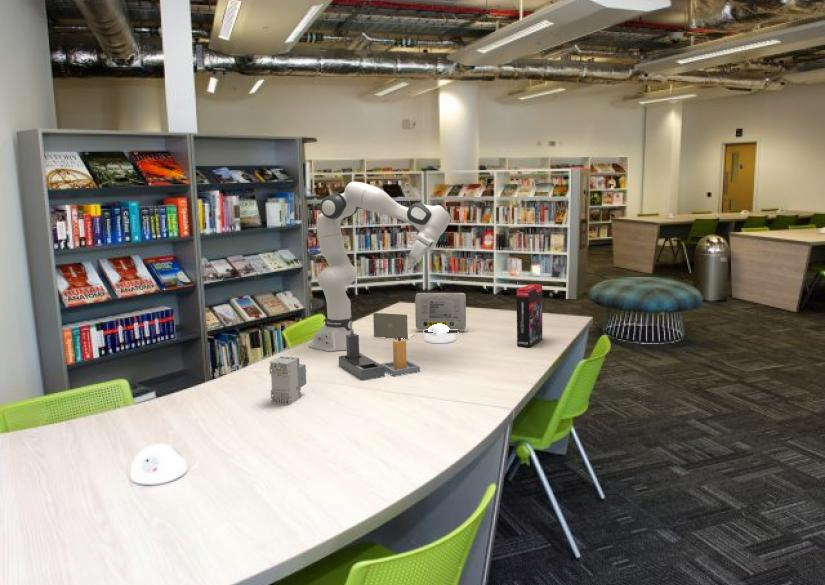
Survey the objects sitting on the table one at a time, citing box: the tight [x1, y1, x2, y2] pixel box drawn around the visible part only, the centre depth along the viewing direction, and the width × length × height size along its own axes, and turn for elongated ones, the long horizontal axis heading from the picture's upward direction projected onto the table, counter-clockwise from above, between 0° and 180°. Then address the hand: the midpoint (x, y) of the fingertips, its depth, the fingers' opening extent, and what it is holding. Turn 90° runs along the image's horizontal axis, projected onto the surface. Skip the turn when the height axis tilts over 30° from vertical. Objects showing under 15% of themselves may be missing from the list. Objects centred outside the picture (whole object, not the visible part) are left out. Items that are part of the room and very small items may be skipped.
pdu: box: [338, 352, 386, 381], centre depth 267 cm, size 24×10×4 cm, turn 29°
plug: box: [392, 335, 407, 370], centre depth 266 cm, size 3×4×14 cm
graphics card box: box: [516, 283, 543, 348], centre depth 304 cm, size 17×7×27 cm, turn 148°
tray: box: [380, 359, 421, 377], centre depth 267 cm, size 12×12×2 cm
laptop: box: [372, 312, 409, 340], centre depth 324 cm, size 18×12×13 cm
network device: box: [414, 292, 467, 333], centre depth 330 cm, size 26×9×20 cm, turn 84°
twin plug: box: [346, 328, 360, 359], centre depth 273 cm, size 3×4×14 cm
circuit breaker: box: [268, 355, 307, 406], centre depth 235 cm, size 8×14×15 cm, turn 161°
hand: (407, 268), depth 275 cm, fingers open, 8 cm apart
